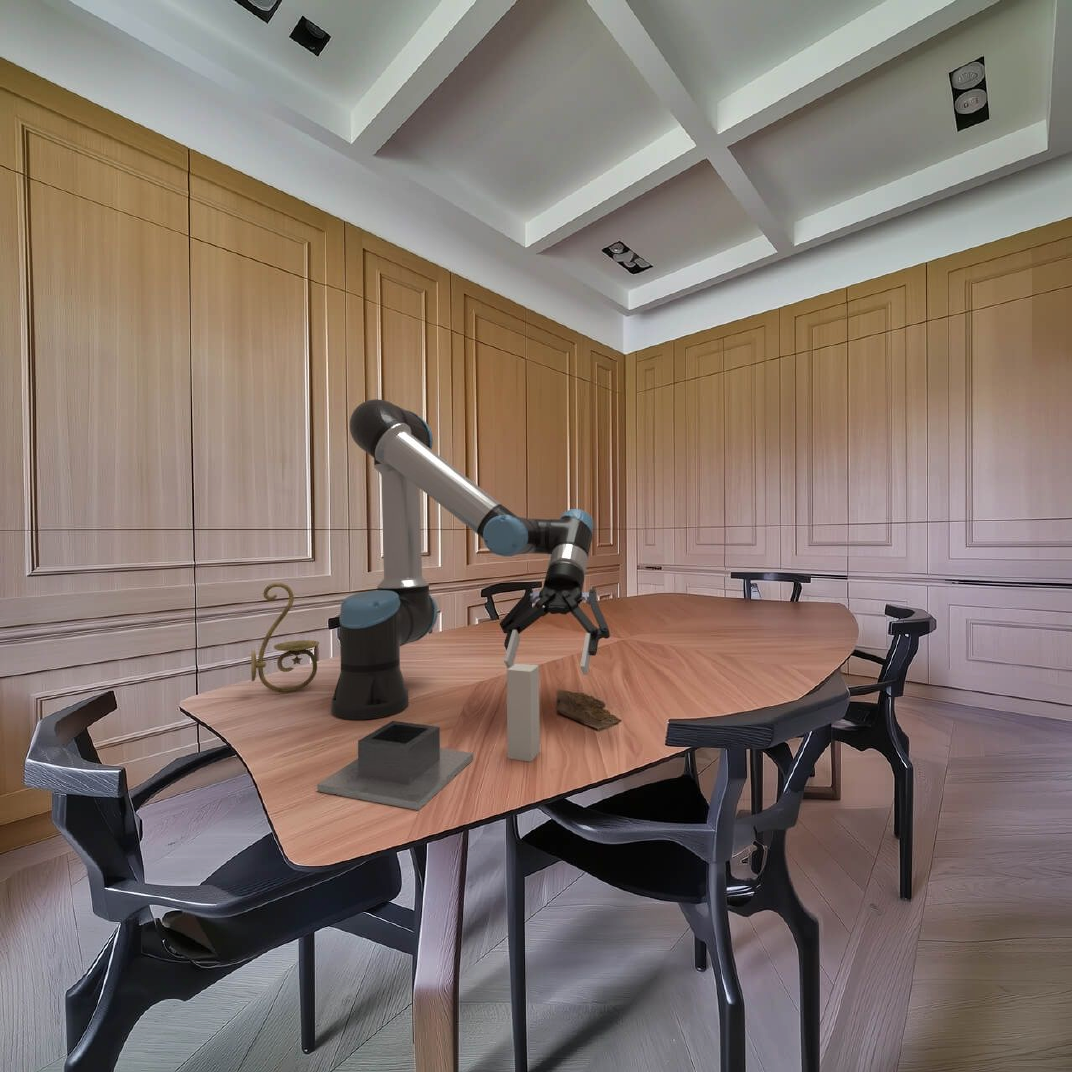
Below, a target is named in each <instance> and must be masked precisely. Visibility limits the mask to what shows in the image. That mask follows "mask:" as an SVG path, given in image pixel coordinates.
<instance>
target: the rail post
mask: <svg viewBox="0 0 1072 1072" xmlns="http://www.w3.org/2000/svg"><path fill="white" fill-rule="evenodd" d="M506 704H507V705H506V707H507V708H506V709H507V710H506V711H507V712H506V713H507V719H506V720H507V723H506V725H507V727H506V728H507V730H506V731H507V734H506V735H507V759H510V760H517V761H525V762H530V763H532V762H533V761H534V760H535V758H536V757H537V756H538V754H539V753H540V749H541V748H540V747H541V746H540V743H541V741H540V734H541V732H540V730H541V729H540V665H537V664H523V663H514V664H513V666H512V667H510V668H509V669H508V668H507V669H506Z"/></svg>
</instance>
